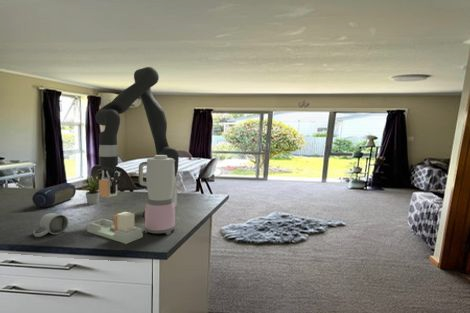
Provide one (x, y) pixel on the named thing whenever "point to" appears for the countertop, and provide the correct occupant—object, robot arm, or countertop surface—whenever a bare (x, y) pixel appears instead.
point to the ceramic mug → (52, 224)
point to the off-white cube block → (105, 188)
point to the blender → (159, 194)
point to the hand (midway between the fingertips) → (109, 192)
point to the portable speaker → (54, 195)
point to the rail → (111, 234)
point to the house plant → (92, 191)
